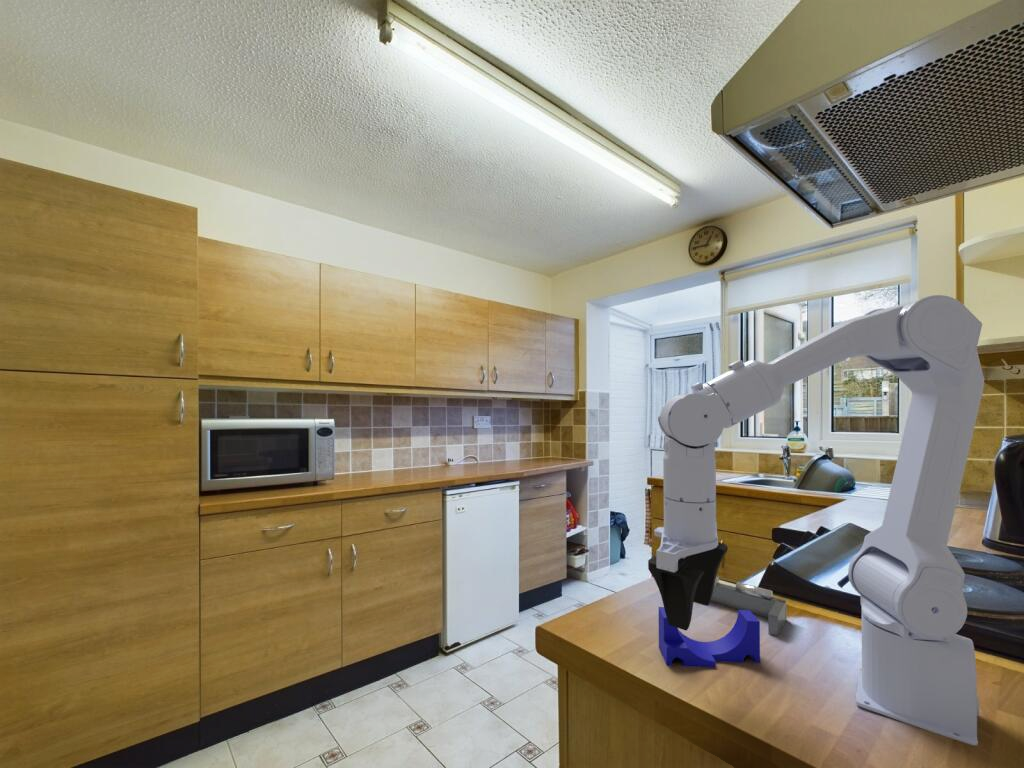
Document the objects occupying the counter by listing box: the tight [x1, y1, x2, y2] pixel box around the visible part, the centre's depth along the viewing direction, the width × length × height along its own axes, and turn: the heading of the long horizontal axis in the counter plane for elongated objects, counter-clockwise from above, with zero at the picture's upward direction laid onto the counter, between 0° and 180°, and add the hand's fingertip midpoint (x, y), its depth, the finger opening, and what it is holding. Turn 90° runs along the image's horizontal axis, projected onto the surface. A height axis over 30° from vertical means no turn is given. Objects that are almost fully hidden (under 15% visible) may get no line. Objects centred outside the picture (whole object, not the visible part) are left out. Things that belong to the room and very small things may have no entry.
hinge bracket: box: [710, 576, 787, 637], centre depth 74 cm, size 17×7×4 cm, turn 50°
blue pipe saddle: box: [658, 606, 761, 668], centre depth 60 cm, size 12×4×6 cm, turn 85°
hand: (689, 614), depth 54 cm, fingers open, 7 cm apart
